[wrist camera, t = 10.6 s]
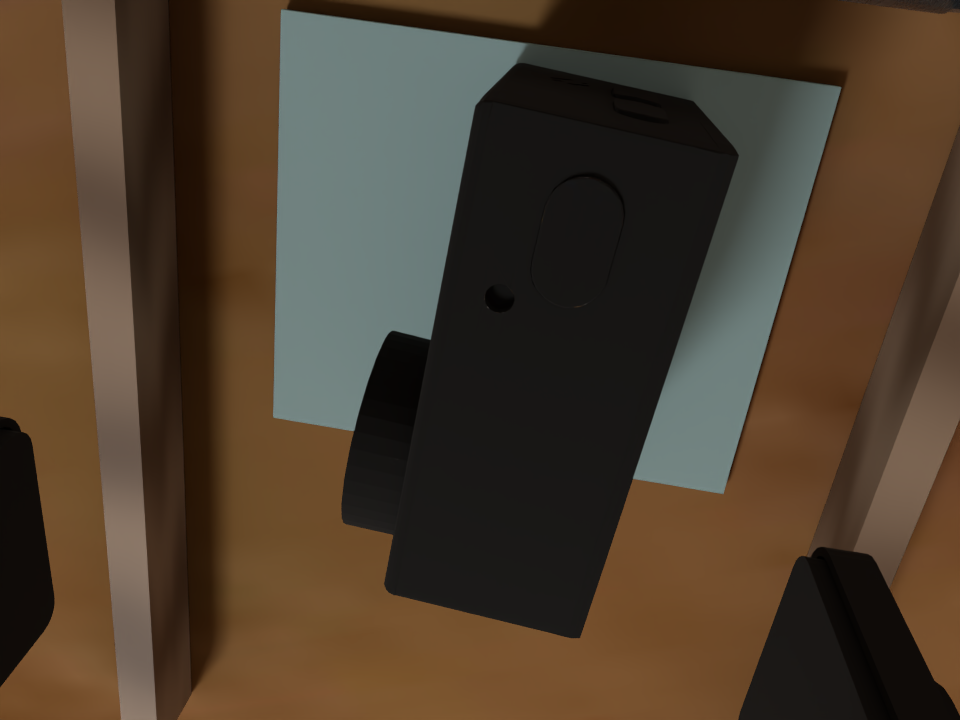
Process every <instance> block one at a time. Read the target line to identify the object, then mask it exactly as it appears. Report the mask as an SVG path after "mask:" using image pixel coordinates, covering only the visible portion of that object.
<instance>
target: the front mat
mask: <svg viewBox="0 0 960 720" xmlns="http://www.w3.org/2000/svg"><path fill="white" fill-rule="evenodd" d="M517 63H527V64H531V65H536V66H540V67H545V68H549V69H554V70H558V71H563V72H567V73H571V74H576V75H580V76H585V77H589V78H594V79H598V80H603V81H607V82H612V83H616V84H620V85H625V86H629V87H634V88H638V89H643V90H647V91H652V92H656V93H661V94H665V95H670V96H674V97H678V98H683V99H687V100H691V101H694V102H695V103H696V104H697V106H698V107H699V108H700V109H701V110H702V111H703V112H704V113H705V115H706V116H707V117H708V118H709V119H710V120H711V121H712V123H713V124H714V125H715V126H716V127H717V128H718V129H719V130H720V132H721V133H722V134H723V135H724V136H725V137H726V138H727V139H728V141H729V142H730V143H731V144H732V145H733V146H734V148H735V149H736V151H737V153H738V154H739V158H738V161H737V164H736V167H735V170H734V173H733V176H732V179H731V182H730V185H729V188H728V191H727V194H726V197H725V200H724V203H723V207H722V210H721V213H720V216H719V219H718V222H717V225H716V228H715V231H714V234H713V237H712V240H711V243H710V246H709V249H708V252H707V255H706V258H705V261H704V264H703V267H702V271H701V274H700V277H699V280H698V283H697V286H696V289H695V292H694V295H693V298H692V301H691V304H690V307H689V310H688V313H687V316H686V319H685V322H684V325H683V328H682V331H681V335H680V338H679V341H678V344H677V347H676V350H675V353H674V356H673V359H672V362H671V365H670V368H669V371H668V374H667V377H666V380H665V383H664V386H663V389H662V392H661V395H660V398H659V401H658V404H657V407H656V410H655V413H654V416H653V419H652V422H651V425H650V428H649V431H648V434H647V437H646V441H645V444H644V447H643V450H642V453H641V456H640V459H639V462H638V465H637V468H636V471H635V474H634V477H633V479H638V480H644V481H650V482H656V483H662V484H668V485H674V486H679V487H685V488H691V489H697V490H703V491H709V492H715V493H721V494H723V493H724V489H725V486H726V482H727V479H728V476H729V472H730V469H731V465H732V462H733V458H734V455H735V452H736V448H737V445H738V441H739V438H740V434H741V431H742V427H743V424H744V421H745V417H746V414H747V410H748V407H749V403H750V400H751V397H752V393H753V390H754V386H755V383H756V379H757V376H758V373H759V369H760V366H761V362H762V359H763V355H764V352H765V348H766V345H767V342H768V338H769V335H770V331H771V328H772V324H773V321H774V318H775V314H776V311H777V307H778V304H779V300H780V297H781V294H782V290H783V287H784V283H785V280H786V276H787V273H788V269H789V266H790V263H791V259H792V256H793V252H794V249H795V245H796V242H797V239H798V235H799V232H800V228H801V225H802V221H803V218H804V215H805V211H806V208H807V204H808V201H809V197H810V194H811V190H812V187H813V184H814V180H815V177H816V173H817V170H818V166H819V163H820V160H821V156H822V153H823V149H824V146H825V142H826V139H827V136H828V132H829V129H830V125H831V122H832V118H833V115H834V111H835V108H836V105H837V101H838V98H839V94H840V91H841V87H839V86H835V85H828V84H821V83H813V82H806V81H799V80H792V79H785V78H777V77H770V76H763V75H756V74H749V73H741V72H734V71H727V70H720V69H713V68H705V67H698V66H691V65H684V64H677V63H669V62H662V61H655V60H648V59H641V58H633V57H626V56H619V55H612V54H605V53H597V52H590V51H583V50H576V49H569V48H561V47H554V46H547V45H540V44H533V43H525V42H518V41H511V40H504V39H497V38H489V37H482V36H475V35H468V34H461V33H453V32H446V31H439V30H432V29H425V28H417V27H410V26H403V25H396V24H389V23H381V22H374V21H367V20H360V19H353V18H345V17H338V16H331V15H324V14H317V13H309V12H302V11H295V10H288V9H281V42H280V94H279V147H278V199H277V252H276V304H275V357H274V409H273V417H274V418H280V419H285V420H291V421H297V422H303V423H309V424H315V425H321V426H327V427H333V428H338V429H344V430H350V431H354V430H355V425H356V421H357V417H358V413H359V410H360V406H361V403H362V400H363V396H364V393H365V389H366V386H367V382H368V380H369V377H370V374H371V371H372V368H373V366H374V363H375V360H376V357H377V355H378V353H379V351H380V348H381V346H382V344H383V342H384V340H385V338H386V336H387V335H388V334H389V333H390V332H391V331H398V332H401V333H405V334H409V335H413V336H417V337H421V338H425V339H429V340H431V335H432V330H433V325H434V320H435V314H436V309H437V304H438V299H439V293H440V288H441V283H442V278H443V272H444V267H445V262H446V257H447V251H448V246H449V241H450V236H451V230H452V225H453V220H454V215H455V209H456V204H457V199H458V194H459V188H460V183H461V178H462V173H463V167H464V162H465V157H466V151H467V146H468V141H469V136H470V130H471V125H472V120H473V115H474V109H475V105H476V104H477V103H478V102H479V101H480V99H481V98H482V97H483V96H484V95H485V94H486V93H487V92H488V91H489V90H490V89H491V88H492V87H493V86H494V85H495V84H496V83H497V82H498V81H499V80H500V79H501V78H502V77H503V76H504V75H505V74H506V73H507V72H508V71H509V70H510V69H511V68H512V67H513V66H514V65H515V64H517Z"/></svg>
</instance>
